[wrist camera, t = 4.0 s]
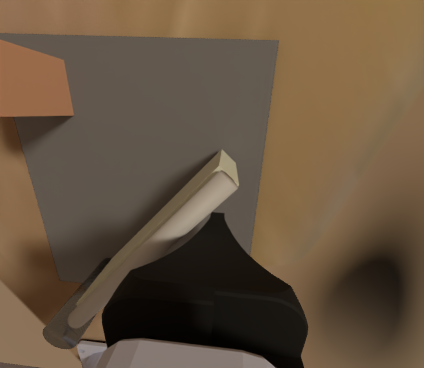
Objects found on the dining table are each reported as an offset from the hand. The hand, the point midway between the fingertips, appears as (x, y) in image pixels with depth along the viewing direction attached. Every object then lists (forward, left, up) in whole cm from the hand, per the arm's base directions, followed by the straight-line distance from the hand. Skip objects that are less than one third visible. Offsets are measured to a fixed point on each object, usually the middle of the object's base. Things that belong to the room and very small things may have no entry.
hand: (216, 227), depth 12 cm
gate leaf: (-1, +4, -2) cm, 4 cm away
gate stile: (+7, +10, -3) cm, 13 cm away
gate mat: (+1, +5, -3) cm, 6 cm away
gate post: (-6, +8, -3) cm, 11 cm away
